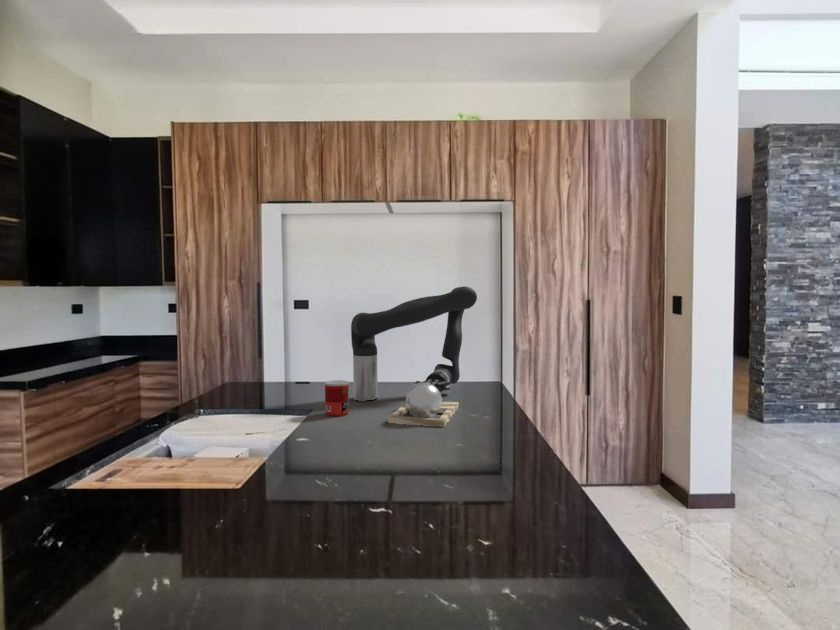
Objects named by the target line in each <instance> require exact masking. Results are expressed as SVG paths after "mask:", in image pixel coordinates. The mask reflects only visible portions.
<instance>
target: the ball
mask: <svg viewBox="0 0 840 630" xmlns="http://www.w3.org/2000/svg"><path fill="white" fill-rule="evenodd" d="M421 382H422V383H418V384H416V383H415V384H413V385H412V386H411V387H410V388H409V389H408V390H407V393H406V396H405V403H406V407H407V409H408V411H409V412H408V413H409V414H410V415H411V417H420V418H435V416H437V413H438V412H439V410H440V408H441V405H442V401H443V397H442V394H441V392H439V390H438V389H437V388H436V387H435V386H434V385H432V384H430V383H426V382H423V381H421Z"/></svg>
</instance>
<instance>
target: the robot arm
mask: <svg viewBox="0 0 840 630" xmlns="http://www.w3.org/2000/svg"><path fill="white" fill-rule="evenodd" d="M477 300H478V295H477V292H476V291H475V290H474V289H473V288H471V287H470V286H458V287H455V288H452V290H451V291H450V292H447V293H444V294H439V295H431V296H424V297H419V298H414V299H411V300H408V301H405V302H402V303H400V304H399V305H398V304H397V305H396V306H394V307H392V308H391V309H387V310H382V311H378V312H372V313H371V312H370V313H368V312H359V313H357V314H356V315H354V316H353V318H352V320H351V322H350V323H351V325H350V326H351V327H350V330H351V331H350V336H351V347H352V368H353V369H352V370H353V371H352V372H353V373H352V375H353V382H352V383H353V385H352V386H353V388H352V389H353V400H354V401H356V400H358V401H357V402H367V401H366V400H373V399H376V398H377V397H378V387H379V385H378V347H377V344H376V339H375V338H376V335H377V336H378V335H379V334H381V333H384V332H386V331H389V330H393V329H396V328H403V327H406V326H410V325H415V324H419V323H421V322H422V323H423V322H425V321H428V320H431V319H433V318H436V317H439V316H441V315H443V314H447V324H446V331H445V338H444V343H443V347H442V352H441V357H442V358H444V359H446V360H449V361H450V362H451V364H452V365H449V364H445V363H438V364H436V365H435V367H434V369H433V372H431V373H430V374H429V375H428V376H427V377H426V379H425V380H423V381H420V380H417V381H416V382H415V384H418V383H422V382H426V383H430V384H432V385H434V386H435V387H436V388H437V389H438V390H439V392H440V393H441V392H443V391H449V390H451V385H454V384H456V383H458V382H459V380H460V376H461V375H460V360H459V359H460V353H461V349H462V348H461V347H462V342H463V331H462V330H463V329H462V321H463V315H464V312H465V310H467V309H470V308H472V307H473V306H474V305H475V304H476V302H477ZM376 400H377V399H376ZM373 401H374V400H373Z"/></svg>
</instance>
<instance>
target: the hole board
mask: <svg viewBox="0 0 840 630" xmlns="http://www.w3.org/2000/svg"><path fill="white" fill-rule="evenodd" d="M459 405H460V403H459V401H446V400H444V401H443V400H442V405H441V408H440V410H439V412H438V413H443V414H442V415H441V416H440V417H439V418H435V417H432V418H420V417H414V416H405V415H406V414H408V413H409V412H408V409H407V407H406V402H405V403H404V404H403V405H402V406H400V407H399V408H398V409H397V410H396V411H394V412H393V413H392V414H390V415H389V416H388V418H387V419H388V424H389V423H396V424H395V425H404V424H406V425H407V426H408V425H409V426H420V425H423V427H435V426H439V427H438V428H445V427H444V426H446V425H447V424H448V423H447V422H450V420H451V419H452V417H453V416H454V415H455V413H456V412H457V411H456V410H458V409H459V408H458V407H459ZM457 408H458V409H457ZM455 411H456V412H455ZM404 414H405V415H404ZM453 414H454V415H453ZM403 415H404V416H403ZM452 415H453V416H452ZM450 418H451V419H450Z"/></svg>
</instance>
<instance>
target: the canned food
mask: <svg viewBox="0 0 840 630" xmlns="http://www.w3.org/2000/svg"><path fill="white" fill-rule="evenodd" d="M349 384H350V383H349V381H347V380H344V379H343V380H339V379H337V380H336V379H335V380H328V381H325V383H324V397H325V398H324V402H325V403H324V407H325V415H326V416H327V417H331V416H332V418H333V417H334V418H337V417H344V416H347V415H349V412H350V403H349V401H350V397H349V396H350V394H349V393H350V392H349V391H350V388H349V387H350V386H349Z"/></svg>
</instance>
